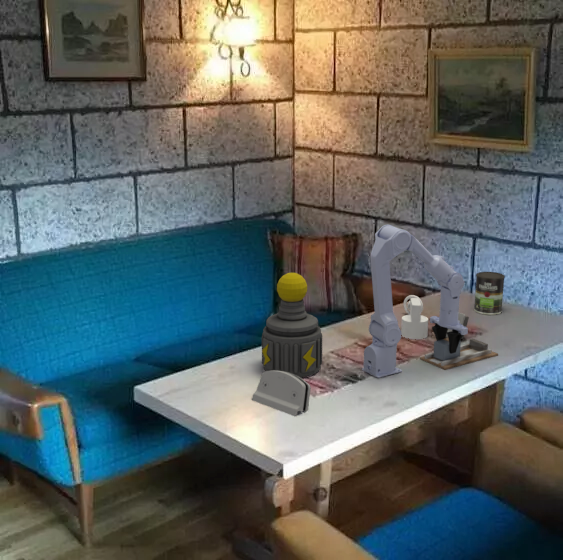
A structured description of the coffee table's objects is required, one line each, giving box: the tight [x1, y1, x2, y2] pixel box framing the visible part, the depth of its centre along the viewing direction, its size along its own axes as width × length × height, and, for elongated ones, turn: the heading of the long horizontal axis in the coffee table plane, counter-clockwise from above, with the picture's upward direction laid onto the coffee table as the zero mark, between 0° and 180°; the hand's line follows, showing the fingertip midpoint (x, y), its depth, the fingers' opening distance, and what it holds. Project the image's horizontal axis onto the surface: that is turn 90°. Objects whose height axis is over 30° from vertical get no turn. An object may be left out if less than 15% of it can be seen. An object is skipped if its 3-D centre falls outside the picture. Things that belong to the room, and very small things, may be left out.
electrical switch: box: [446, 312, 470, 340], centre depth 266 cm, size 9×5×9 cm, turn 35°
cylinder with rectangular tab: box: [400, 297, 429, 340], centre depth 267 cm, size 9×9×12 cm
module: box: [433, 337, 462, 361], centre depth 244 cm, size 7×4×5 cm, turn 124°
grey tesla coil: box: [261, 272, 323, 379], centre depth 236 cm, size 19×19×30 cm
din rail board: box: [419, 338, 499, 371], centre depth 247 cm, size 23×11×4 cm, turn 122°
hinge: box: [251, 370, 311, 417], centre depth 213 cm, size 17×5×10 cm, turn 48°
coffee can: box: [473, 271, 506, 316], centre depth 294 cm, size 10×10×14 cm
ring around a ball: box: [402, 294, 424, 315], centre depth 289 cm, size 8×6×8 cm
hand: (447, 350), depth 244 cm, fingers closed on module, 4 cm apart
